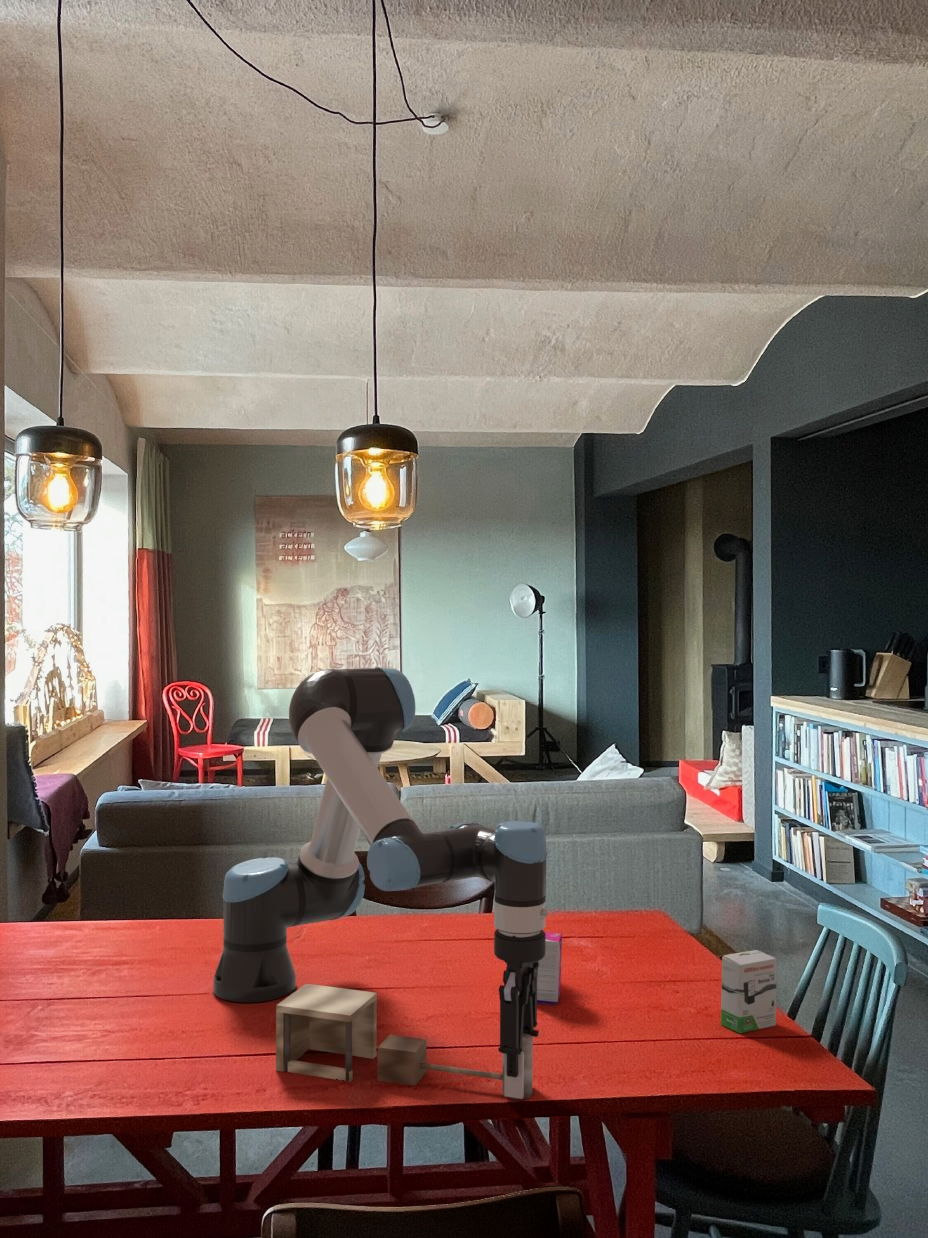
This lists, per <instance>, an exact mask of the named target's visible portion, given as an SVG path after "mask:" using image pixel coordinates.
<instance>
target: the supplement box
mask: <svg viewBox="0 0 928 1238" xmlns="http://www.w3.org/2000/svg"><path fill="white" fill-rule="evenodd" d="M544 932H545V931H544ZM545 934H546V941H545V956H544V958H543V959H541V960H539V961H538V963H539V966H538V975H537V1004H544V1005H555V1006H556V1005H558V1003H559V1002H558V1001H559V998H560V996H561V985H562V984H561V983H562V981H561V980H562V979H561V978H562V952H563V951H562V950H563V949H562V948H563V947H562V946H563V944H562V943H563V934H562V933H558V932H547V931H546V932H545Z"/></svg>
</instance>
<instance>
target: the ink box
mask: <svg viewBox="0 0 928 1238" xmlns="http://www.w3.org/2000/svg"><path fill="white" fill-rule="evenodd" d="M777 973H778V959H777V957H774V956H772V955H769V954H767V953H765V952H763V951H761V950H758V949H754V950H747V951H742V952H736V953H729V954H724V955H723V956H722V958H721V1000H720V1001H721V1002H720V1003H721V1004H720V1010H721V1011H720V1025H721V1026H723V1027H726V1029H727V1028H728V1029H729V1030H732V1031H733V1032H736V1033H738V1034H744V1033H749V1032H752V1031H758V1030H761V1029H765V1028H770V1027H774V1026H777V984H778V983H777V981H778V980H777V979H778V977H777V975H778V974H777Z"/></svg>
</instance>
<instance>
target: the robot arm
mask: <svg viewBox="0 0 928 1238" xmlns="http://www.w3.org/2000/svg"><path fill="white" fill-rule="evenodd" d="M413 691H414V690H413V688H412V685H411V683H410V681H409V680H408V678H407V676H406V675H405V674H404V673H403V672H401V671H400V670H399V669H396V668H393V667H392V668H390V667H389V668H387V667H386V668H385V667H381V666H376V667H375V668H374V667H373V668H371V667H370V668H367V667H366V668H337V669H336V668H326V669H321V670H318V671H315V672H313V673H311V674H310V675H308V676H307V677H305V678H304V679H303V680H302V681H300V683H299V684H298V686H297V687H296V689H295V690H294V692H293V694H292V697H291V699H290V702H289V708H288V721H289V725H290V726H289V727H290V729H291V733H292V735H293V737H294V738H295V740H296V742H297V744H298V745H299V746H300V749H302V750H303V751H304V752H306V753H308V754H311V755H312V756H313V757H314V759H315V760H316V762H317V763H318V765H319V768H320V769H321V770H322V771H323V773H324V775H325V777H326V781H325V785H324V790H323V793H322V797H321V801H320V804H319V807H318V808H319V809H318V812H317V816H316V820H315V823H314V827H313V832H312V836H311V839H310V841H309V842H307V843H305V844H304V845H302V847H301V849H300V851H299V854H298V856H297V862H294V863H293V862H292V863H287V861H286V859H283V858H280V857H277V856H275V857H274V856H273V857H271V856H269V857H265V858H263V857H259V858H253V859H248V860H245V861H242V862H239V863H238V864H235V865H234V866H231V868H230V869H228V871H227V872H226V873H225V876H224V881H223V890H222V898H223V899H222V900H223V902H222V903H223V911H222V912H223V913H222V914H223V916H222V917H223V919H222V920H223V921H222V922H223V932H222V933H223V934H222V936H223V942H222V943H223V944H222V945H223V946H222V952H221V954H220V958H219V961H218V965H217V966H216V970H215V973H214V977H213V982H212V983H213V989H212V990H213V994H214V995H215V996H216V997H218V998H220V999H222V1000H224V1001H230V1002H234V1003H261V1002H268V1001H272V1000H276V999H280V998H283V997H285V996H286V997H287V995H289V994H292V993H293V991H294V990H295V989H296V987H297V985H296V984H297V981H296V980H297V979H296V978H297V976H296V970H295V968H294V965H293V961H292V959H291V955H290V951H289V948H288V944H287V943H288V941H287V937H288V936H287V935H288V932H287V929H288V928H292V927H298V926H302V925H303V926H304V925H310V924H314V923H320V922H321V923H322V922H327V921H335V920H338V919H340V918H344V917H347V916H350V915H351V914H353V913H354V912H355V911H356V910H357V909H358V908H359V907H360V905H361V903H362V901H363V897H364V894H365V889H366V885H365V883H364V881H365V873H364V872H365V871H364V869H363V866H362V864H361V863H360V861H359V858H358V855H357V854H356V853H355V850H356V847H357V843H358V841H359V836H360V833H362V835H363V837H364V838H365V840H366V841H367V843H368V844H369V846H370V847H369V849H368V852H367V858H366V866H367V870H368V871H369V878H370V880H371V882H372V884H373V885H374V886H375V887H376V888H377V889H379V890H381V891H383V892H394V891H409V890H412V889H414V888H419V887H425V886H430V885H431V886H432V885H434V884H442V883H448V882H454V881H460V880H466V879H471V878H480V879H483V880H487V881H490V882H492V883H494V902H493V903H494V907H493V909H494V910H493V911H494V912H493V913H494V915H493V916H494V917H493V926H494V927H495V929H496V930H495V931H494V934H493V935H494V936H493V941H494V942H493V944H494V945H493V946H494V947H493V952H494V955H495V957H496V958H497V959H499V960H500V961H503V962H505V964H506V967H505V968H506V970H504V971H503V974H502V982H503V984H500V985H499V987H498V993H499V995H498V996H499V1005H500V1006H499V1047H498V1052H499V1053H500V1054H503V1053H505V1059H504V1095H503V1097H505V1096H507V1097H513V1098H520V1099H522V1100H524V1099H523V1097H524V1052H523V1051H522V1038H523V1033H526V1034H529V1035H531V1036H532V1038H533V1037H535V1038H538V1037H539V1031H540V1030H539V1029H535V1028H537V1026H538V1017H537V1016H538V1003H537V975H538V966H539V963H538V961H539V960H541V959H543V958H544V956H545V941H546V934H545V930H544V929H545V928H546V917H548V916H549V915H550V910H549V909H548V908H546V901H547V900H546V897H547V896H546V895H547V891H546V890H547V857H548V850H547V837H546V830H545V828H544V827H543V825H541V824H539V823H537V822H535V821H534V822H532V821H525V820H508V821H503V822H500V823H498V824H497V825H496V827H495V829H493V828H491V827H487V826H484V825H482V824H479V823H476V822H464V821H463V822H462V821H461V822H457V823H454V824H453V825H451V826H450V827H449V828H448V829H447V830H442V831H441V830H440V831H433V832H423V831H421V829H420V827H418V825H417V824H416V822H415V821H414V819H413V818H412V817H411V815H410V814H409V812H408V811H407V809H406V808H405V807H404V805H403V803H402V802H401V801H400V799H399V798H398V795H396V793H395V792H394V790H393V788H392V787H391V786H390V785H389V783H388V782H387V781H388V780H387V779H385V777H384V775H383V774H382V772H381V771H380V769H379V764H380V761H381V758H382V754H384V753H386V752H388V751H389V750H391V749H392V747H393V745H394V743H395V742H394V741H395V738H396V734H397V733H401V732H402V733H403V732H405V731H406V730H408V729H410V728H411V727H412V725H413V724H414V720H415V717H416V699H415V695H414V692H413ZM533 1070H534V1069H533ZM533 1070H532V1083H533V1082H534V1081H533V1079H534V1078H533V1073H534V1072H533ZM507 1097H506V1098H507Z"/></svg>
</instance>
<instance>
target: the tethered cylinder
mask: <svg viewBox="0 0 928 1238" xmlns="http://www.w3.org/2000/svg"><path fill="white" fill-rule="evenodd" d="M533 1044H534V1038H533V1036H531V1035H529V1034H526V1033H523V1038H522V1051H523V1052H524V1097H523V1099H522V1100H526V1099H528V1098H531V1097H532V1096H533V1082H532V1070H534V1069H533V1068H534V1067H533V1066H534V1061H533V1059H534V1058H533V1055H534V1052H533V1051H534V1045H533ZM504 1059H505V1053H502V1066H501V1068H502V1071H501V1072H502V1073H500V1072H499V1073H498V1072H489V1071H483V1070H476V1069H470V1068H469V1069H468V1068H463V1067H454V1066H453V1067H452V1066H447V1065H440V1064H434V1063H433V1064H432V1063H427V1039H425V1038H420V1037H418V1038H417V1037H413V1036H412V1037H410V1036H404V1035H396V1034H389V1035H388V1036H387V1037H386V1038H385V1039H384V1040H382V1042H381V1043H380V1044H379V1046H378V1047H377V1081H379V1082H385V1083H391V1084H393V1083H394V1084H399V1085H405V1086H412V1085H413V1086H414V1085H416V1086H417V1085H418V1083H419V1082H420V1081H419V1080H422V1078H423V1077H424V1075H425V1074H426V1073H427V1070H428V1071H429V1070H430V1071H435V1072H444V1073H451V1074H457V1075H458V1074H459V1075H465V1076H473V1077H480V1078H485V1079H493V1080H500V1081H501V1080H502V1083H501V1085H502V1086H501V1087H502V1089H501V1091H502V1093H501V1094H502V1095H503V1096H504ZM414 1087H415V1086H414ZM504 1097H505V1098H507V1096H504ZM510 1098H511V1099H510ZM508 1099H510V1100H515V1099H520V1098H513V1097H508ZM520 1100H521V1099H520Z"/></svg>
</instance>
